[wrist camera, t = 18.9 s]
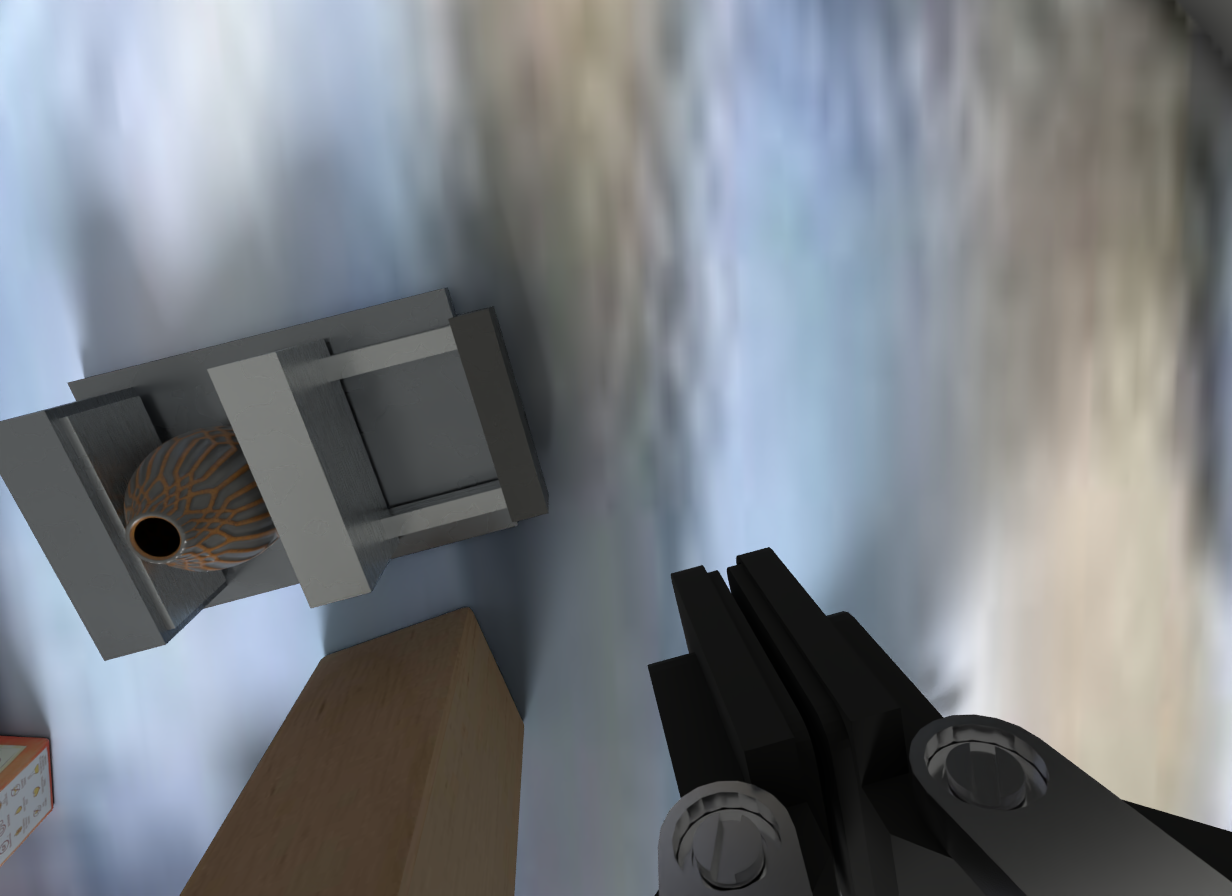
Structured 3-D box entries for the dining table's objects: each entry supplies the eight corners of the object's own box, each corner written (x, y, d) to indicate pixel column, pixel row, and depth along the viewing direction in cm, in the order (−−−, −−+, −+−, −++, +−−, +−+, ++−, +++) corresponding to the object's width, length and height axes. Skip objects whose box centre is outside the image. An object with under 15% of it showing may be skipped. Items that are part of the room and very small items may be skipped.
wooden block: (320, 654, 39) (97, 1019, 20) (471, 601, 39) (394, 914, 20) (386, 775, 42) (247, 1196, 23) (527, 725, 42) (507, 1104, 23)
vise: (447, 287, 34) (421, 290, 27) (519, 517, 38) (511, 571, 31) (83, 379, 33) (-39, 405, 26) (194, 603, 37) (113, 677, 30)
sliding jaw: (491, 296, 33) (478, 300, 27) (550, 502, 36) (550, 544, 30) (267, 353, 32) (206, 369, 27) (349, 555, 36) (310, 608, 30)
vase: (289, 400, 34) (202, 440, 25) (335, 515, 35) (268, 588, 27) (162, 431, 33) (31, 483, 25) (215, 546, 35) (111, 630, 27)
